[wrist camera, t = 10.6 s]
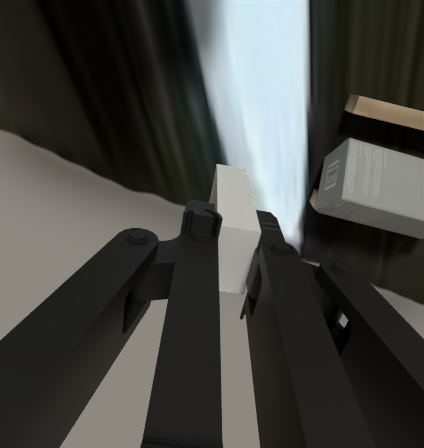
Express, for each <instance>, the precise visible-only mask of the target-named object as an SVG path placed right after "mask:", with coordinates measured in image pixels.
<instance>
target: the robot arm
mask: <svg viewBox="0 0 424 448" xmlns="http://www.w3.org/2000/svg"><path fill="white" fill-rule="evenodd" d="M246 283H247V290H248V292H247V295H246V299H245V302H244V305H243V308H242V312H241V316H240V319H243V317H244V315H245V314H246V322H247V330H248V340H249V349H250V357H251V367H252V376H253V385H254V394H255V404H256V412H257V422H258V431H259V440H260V448H424V339H423V338H422V337H421V336H420V335H419V334H418V333H417V332H416V331H415V330H414V328H412V326H411V325H410V324H409V323H408V322H407V321H406V320H405V319H404V318H403V317H402V316H401V315H400V314H399V313H398V312H397V311H396V310H395V309H394V308H393V307H392V306H391V305H390V304H389V303H388V302H387V301H386V299H385V298H383V296H382V295H381V294H379V293H378V291H377V290H376V289H375V288H374V287H373V286H372V285H371V284H370V283H369V282H368V281H367V280H366V279H365V278H364V277H363V276H362V275H361V274H360V273H359V272H358V270H356V269H355V268H354V267H353V266H352V265H350V264H348V263H346V262H345V261H343V260H340V259H333V258H327V259H324V260H322V261H321V263H320V266H319V267H318V266H315V265H312V264H309V263H306V262H304V261H301V259H300V256H299V254H298V252H297V250H296V249H295V248H294V247H293V246H291V245H290V244H288V243H286V242H285V240H284V237H283V234H282V231H281V229H280V226H279V223H278V220H277V218H276V217H275V216H274V215H273V214H272V213H270V212H265V211H259V210H256V209H255V205H254V201H253V197H252V193H251V189H250V185H249V181H248V177H247V173H246V169H242V168H236V167H230V166H225V165H219V164H217V166H216V171H215V176H214V182H213V187H212V192H211V197H210V202H209V203H207V202H201V201H195V200H191V201H190V202H189V203H187V204H186V209H185V211H184V214H183V220H182V227H181V233H180V235H179V236H178V237H177V238H175V239H172V240H168V241H158V237H157V235H155V234H154V233H153V232H151V231H149V230H146V229H141V228H130V229H126V230H123V231H122V232H120V233H118V234H117V235H116V236H115V237H114V238H113V239H112V240H111V241H110V242H108V243H107V244H106V245H105V246H104V247H103V248H102V249H101V250H100V251H98V252H97V253H96V254H95V255H94V256H93V257H92V258H91V259H90V260H89V261H87V262H86V263H85V264H84V265H83V266H82V267H81V268H80V269H79V270H78V271H76V272H75V273H74V274H73V275H72V276H71V277H70V278H69V279H68V280H66V282H64V283H63V284H62V285H61V286H60V287H59V288H58V289H57V290H55V292H53V293H52V294H51V295H50V296H49V297H48V298H47V299H46V300H44V301H43V302H42V303H41V304H40V305H39V306H38V307H37V308H36V309H35V310H34V311H32V312H31V313H30V314H29V315H28V316H27V317H26V318H25V319H23V320H22V321H21V322H20V323H19V324H18V325H17V326H16V327H15V328H14V329H12V331H10V332H9V333H8V334H7V335H6V336H5V337H4V338H3V339H1V340H0V448H59V447H60V446H61V444H62V443H63V441H64V440H65V438H66V437H67V435H68V433H69V432H70V430H71V429H72V427H73V426H74V424H75V422H76V421H77V419H78V418H79V416H80V414H81V413H82V411H83V410H84V408H85V407H86V405H87V404H88V402H89V400H90V399H91V397H92V396H93V394H94V393H95V391H96V389H97V388H98V386H99V385H100V383H101V382H102V380H103V378H104V377H105V375H106V374H107V372H108V371H109V369H110V368H111V366H112V364H113V363H114V361H115V359H116V358H117V357H118V355H119V353H120V352H121V350H122V349H123V347H124V346H125V344H126V342H127V341H128V339H129V338H130V336H131V334H132V333H133V331H134V329H135V328H136V326H137V325H138V323H139V322H140V320H141V319H142V317H143V316H144V314H145V313H146V311H147V309H148V308H149V306H150V303H151V300H161V299H168V304H167V309H166V315H165V321H164V326H163V331H162V336H161V342H160V347H159V353H158V358H157V364H156V370H155V375H154V380H153V386H152V391H151V396H150V402H149V408H148V413H147V418H146V424H145V429H144V434H143V440H142V443H141V447H140V448H223V443H222V408H221V407H222V406H221V358H220V357H221V356H220V305H219V291H224V292H231V293H238V294H243V293H244V290H245V287H246ZM342 314H344V315H345V316H346V317H347V319H348V322H347V324H346V326H345V327H343V326H342V325H341V324H340V323H339V320H340V318H341V316H342Z"/></svg>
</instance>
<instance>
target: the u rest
mask: <svg viewBox="0 0 424 448" xmlns="http://www.w3.org/2000/svg"><path fill="white" fill-rule="evenodd" d="M344 110H346V111H348V112H351V113H353V114H358V115H362V116H366V117H370V118H374V119H378V120H382V121H387V122H391V123H395V124H399V125H403V126H407V127H411V128H416V129H420V130H424V112H423V111H419V110H415V109H411V108H407V107H403V106H399V105H394V104H390V103H386V102H382V101H378V100H374V99H370V98H366V97H362V96H358V95H354V94H350V96H349V99H348V101H347V104H346V106H345V109H344ZM318 192H319V190H318V189H314V190H313V193H312V196H311V198H310V203H311V205H312V206H313V208H314V209H315V208H316V203H317V197H318Z"/></svg>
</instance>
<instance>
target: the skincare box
mask: <svg viewBox="0 0 424 448" xmlns="http://www.w3.org/2000/svg"><path fill="white" fill-rule="evenodd" d="M315 210H316V211H317V212H319V213H322V214H326V215H329V216H333V217H337V218H341V219H345V220H349V221H353V222H357V223H361V224H365V225H369V226H373V227H376V228H380V229H384V230H388V231H392V232H396V233H400V234H404V235H408V236H412V237H416V238H420V239H424V159H421V158H417V157H414V156H411V155H407V154H404V153H400V152H397V151H393V150H390V149H386V148H383V147H379V146H376V145H373V144H369V143H366V142H362V141H359V140H355V139H352V138H349V139H348V140H346V141H345V142H344V143H342V144H341V145H340V146H339V147H337V148H336V149H335V150H334V151H333V152H331V153H330V154H329V155H327V156H326V157H325V158H324V165H323V170H322V175H321V180H320V186H319V192H318V197H317V203H316V208H315Z"/></svg>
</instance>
